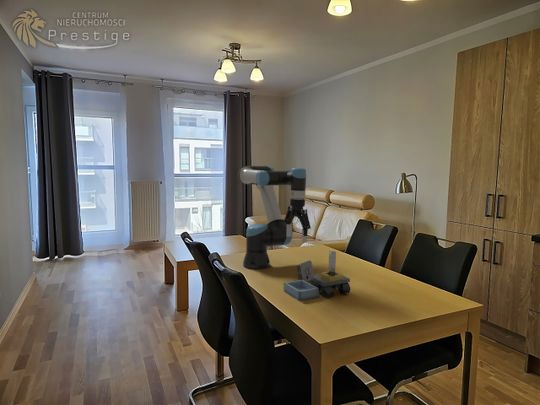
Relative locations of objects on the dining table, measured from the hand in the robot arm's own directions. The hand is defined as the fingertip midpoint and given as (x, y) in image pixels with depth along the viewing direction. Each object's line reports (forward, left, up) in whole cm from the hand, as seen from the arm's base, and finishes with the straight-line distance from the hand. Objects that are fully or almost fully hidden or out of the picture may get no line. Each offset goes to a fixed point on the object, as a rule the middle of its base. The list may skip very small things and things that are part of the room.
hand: (296, 239), depth 187 cm
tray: (+26, -13, -19) cm, 34 cm away
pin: (+31, 0, -12) cm, 33 cm away
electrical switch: (+10, 0, -19) cm, 21 cm away
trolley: (+30, 0, -19) cm, 35 cm away
